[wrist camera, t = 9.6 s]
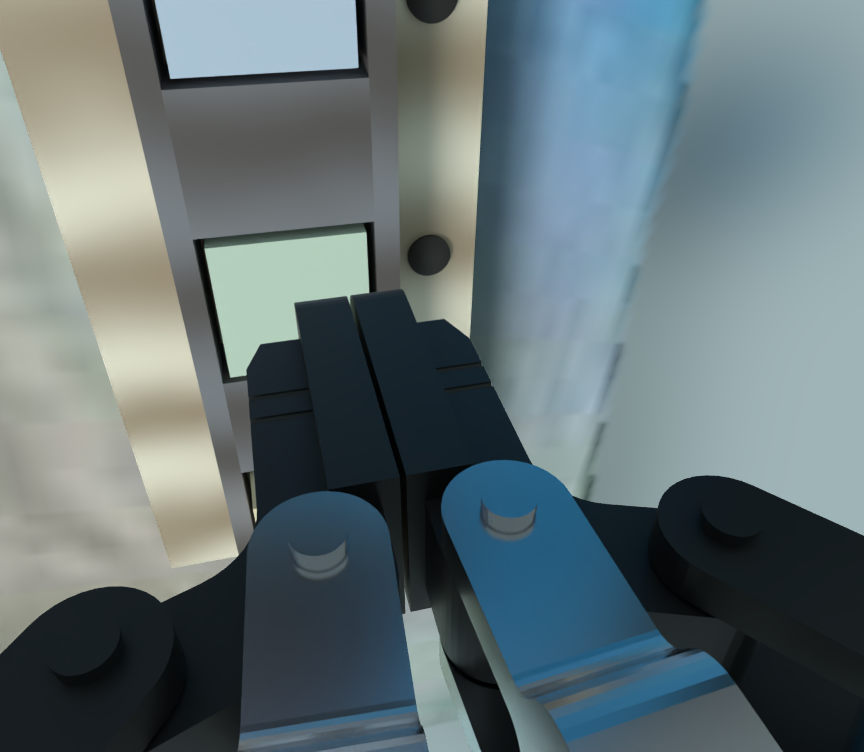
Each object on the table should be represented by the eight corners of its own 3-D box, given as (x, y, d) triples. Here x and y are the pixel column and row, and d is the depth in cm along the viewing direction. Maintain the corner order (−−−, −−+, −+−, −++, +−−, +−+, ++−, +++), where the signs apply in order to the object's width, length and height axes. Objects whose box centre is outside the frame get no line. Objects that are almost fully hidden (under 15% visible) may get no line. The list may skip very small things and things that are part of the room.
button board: (445, 473, 39) (474, 553, 35) (173, 520, 37) (170, 613, 32) (469, -273, 21) (537, -291, 17) (-77, -293, 18) (-161, -320, 14)
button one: (360, 321, 28) (372, 357, 26) (228, 338, 27) (230, 377, 25) (354, 200, 25) (366, 232, 23) (203, 214, 24) (204, 248, 22)
